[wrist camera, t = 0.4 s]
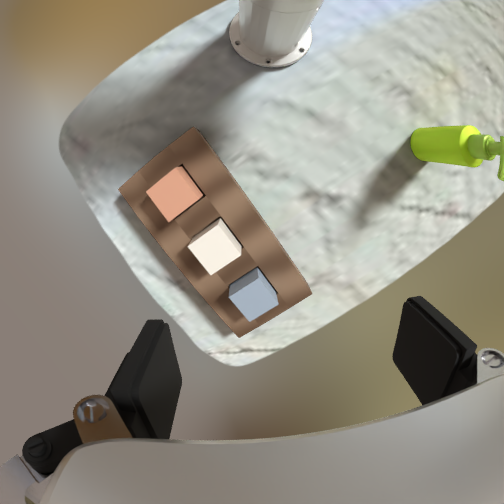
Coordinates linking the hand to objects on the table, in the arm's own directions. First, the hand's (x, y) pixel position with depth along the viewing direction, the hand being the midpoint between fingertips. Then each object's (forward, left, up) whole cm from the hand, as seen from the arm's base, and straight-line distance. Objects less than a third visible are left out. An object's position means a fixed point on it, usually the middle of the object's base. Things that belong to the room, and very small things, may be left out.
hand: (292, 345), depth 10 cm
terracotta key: (-1, -11, -30) cm, 32 cm away
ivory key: (+6, -5, -30) cm, 31 cm away
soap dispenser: (-13, +28, -34) cm, 46 cm away
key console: (+6, -5, -34) cm, 35 cm away
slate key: (+12, +1, -30) cm, 33 cm away
